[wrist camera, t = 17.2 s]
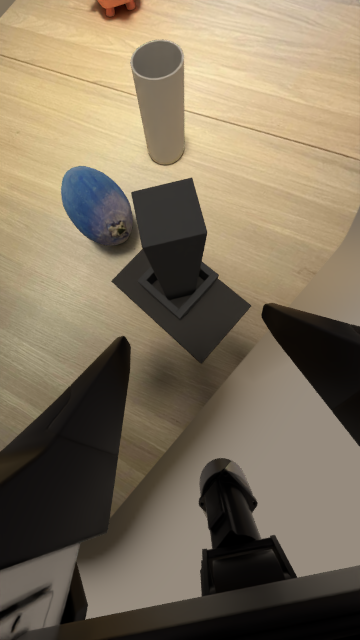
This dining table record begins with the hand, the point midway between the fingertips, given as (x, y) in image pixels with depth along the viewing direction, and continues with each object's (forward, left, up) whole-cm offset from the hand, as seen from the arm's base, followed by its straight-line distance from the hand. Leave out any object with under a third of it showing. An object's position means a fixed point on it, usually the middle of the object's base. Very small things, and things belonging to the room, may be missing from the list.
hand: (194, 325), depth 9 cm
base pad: (+6, -4, -14) cm, 15 cm away
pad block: (+7, -5, -13) cm, 15 cm away
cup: (+29, -25, -14) cm, 40 cm away
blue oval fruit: (+22, -5, -14) cm, 26 cm away
